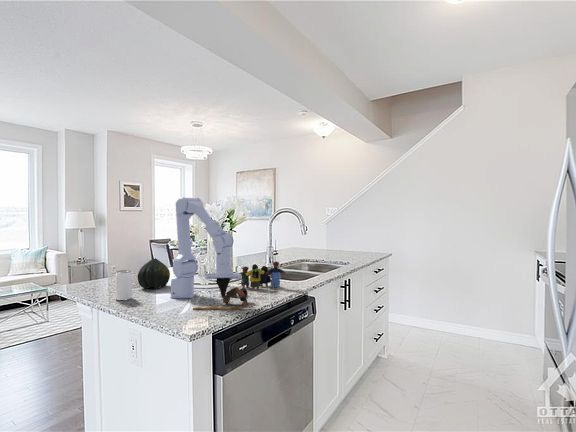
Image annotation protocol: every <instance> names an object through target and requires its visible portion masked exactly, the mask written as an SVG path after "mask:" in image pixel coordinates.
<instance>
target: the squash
mask: <svg viewBox="0 0 576 432" xmlns="http://www.w3.org/2000/svg"><path fill="white" fill-rule="evenodd" d="M170 276H171V271H170V269H169V267H168V266H167V265H166V264H165V263H163V262H162V261H160V260H159V259H158V258H156V257H155V258H152V259H150V260H149V261H148V262H146V263H144V264H143V265H142V266H141V268H140V269H139V271H138V273H137V282H138V284H139V286H140V287H141V288H143V289H150V288H153V289H156V290H159V289H160V288H164V287H166V286H167V284H168V283H169V281H170V279H171V278H170Z"/></svg>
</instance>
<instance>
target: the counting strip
mask: <svg viewBox="0 0 576 432" xmlns="http://www.w3.org/2000/svg"><path fill="white" fill-rule="evenodd" d="M243 309H244V307H243V305H237V306H236V305H235V306H234V305H232V306H231V305H228V306H227V305H223V306H222V305H219V306H218V305H217V306H213V305H212V306H210V305H208V306H207V305H206V306H205V305H204V306H203V305H202V306H201V305H197V306H196V305H195V306H193V308H192V311H242V310H243Z"/></svg>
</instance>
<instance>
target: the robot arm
mask: <svg viewBox="0 0 576 432" xmlns="http://www.w3.org/2000/svg"><path fill="white" fill-rule="evenodd" d="M175 214H176V218H175V221H176V232H177V233H176V234H177V247H178V248H177V249H178V250H177V252H178V255H177V256H176V257H175V258H174V259H173V266H172V272H173V275H174V276H172V277H171V280H170V281H171V282H170V299H192V298H193V297H194V296H195V295H197V292H195V276H196V273H197V272H198V268H199V266H198V265H199V264H198V263H197V257H196V256H194V255H193V254H192V245H191V230H190V225H191V224H190V219H191V217H193V216H194V215H196V217H197V218H199V219H200V221H201V222H202V223H203V224H204V225H205V231H206V232H207V233H208V235H209V236H210V238H211V239H212V240H213V241H212V244H213V247H214V251H215V253H216V254H215V255H216V258H215V262H216V268H215V271H216V273H215V272H213V273H206V274H205V275H204V278H205V280H216V282H215V283H216V284H217V286H218V289H219V291H220V295H221V296H220V297H221V298H222V296H223V295H225V296H226V293H227V289H228V286H229V284H230V282H231V280H242V276H241V274H238V273H234V272H232V273H231V253H232V252H231V249H232V247H233V245H234V238H233V236H232V234H231V233H227V232H226V230H225V229H224V228H222V226H221V225H220V222H219V221H217V220H213V219H212V218H211V216H210V215H209V213H208V212H207V209H205V207H204V202H203V201H202V200H201V199H200V198H199V197H185V196H181V197H179V198H178V199H177V200H176V202H175Z"/></svg>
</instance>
